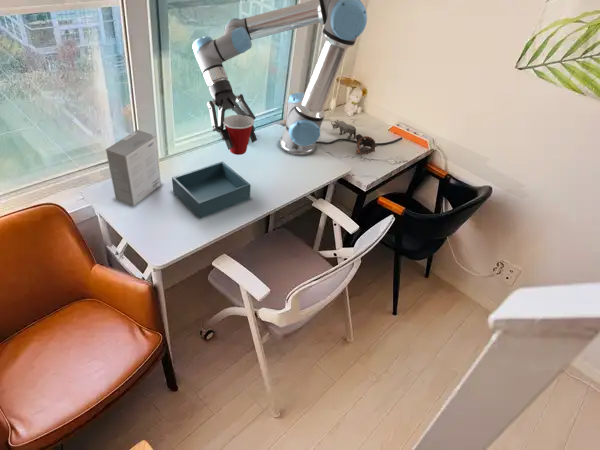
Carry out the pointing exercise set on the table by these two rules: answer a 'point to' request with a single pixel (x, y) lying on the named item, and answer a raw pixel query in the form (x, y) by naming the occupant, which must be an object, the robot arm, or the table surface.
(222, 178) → the tray
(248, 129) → the plastic cup
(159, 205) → the table surface
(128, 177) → the hard drive box
